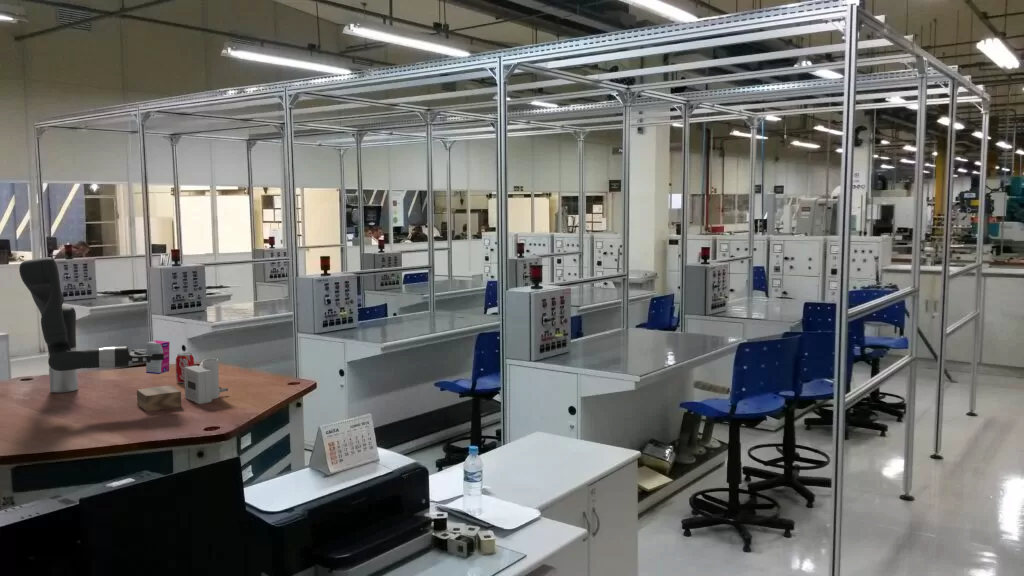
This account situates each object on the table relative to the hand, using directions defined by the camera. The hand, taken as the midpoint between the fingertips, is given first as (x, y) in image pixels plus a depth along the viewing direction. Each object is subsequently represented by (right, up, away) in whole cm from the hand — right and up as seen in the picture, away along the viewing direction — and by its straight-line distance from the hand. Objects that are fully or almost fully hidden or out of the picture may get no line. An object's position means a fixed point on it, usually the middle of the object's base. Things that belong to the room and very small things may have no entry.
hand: (163, 354), depth 277 cm
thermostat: (+12, -18, +14) cm, 26 cm away
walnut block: (-2, -19, +1) cm, 19 cm away
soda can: (-9, -15, +38) cm, 42 cm away
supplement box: (-2, -7, 0) cm, 7 cm away
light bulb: (+3, -16, +33) cm, 37 cm away
